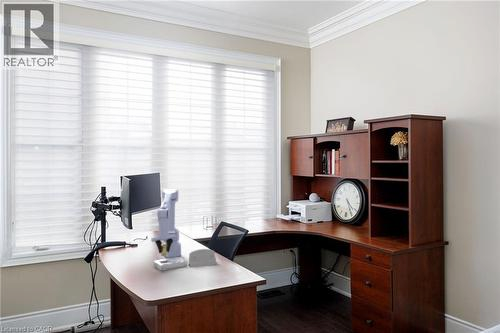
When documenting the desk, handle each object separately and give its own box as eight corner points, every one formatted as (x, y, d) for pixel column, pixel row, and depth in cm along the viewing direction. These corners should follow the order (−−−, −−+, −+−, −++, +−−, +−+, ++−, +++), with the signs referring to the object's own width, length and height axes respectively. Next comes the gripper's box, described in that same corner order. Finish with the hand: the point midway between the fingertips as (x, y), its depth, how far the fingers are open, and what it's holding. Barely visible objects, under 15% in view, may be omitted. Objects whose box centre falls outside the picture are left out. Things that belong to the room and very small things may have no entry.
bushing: (166, 253, 219) (166, 243, 218) (168, 255, 215) (169, 245, 215) (158, 254, 216) (159, 244, 216) (161, 256, 212) (161, 246, 212)
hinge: (189, 267, 215) (188, 249, 218) (188, 267, 219) (187, 250, 222) (217, 264, 220) (216, 247, 223) (215, 264, 224) (214, 248, 227)
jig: (178, 261, 227) (178, 256, 227) (186, 266, 217) (186, 261, 217) (153, 265, 218) (153, 260, 218) (160, 270, 208) (160, 265, 208)
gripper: (154, 231, 208) (154, 255, 208) (178, 229, 216) (178, 251, 216) (150, 229, 214) (150, 253, 214) (173, 227, 222) (173, 249, 222)
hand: (164, 252), depth 215 cm, fingers closed on bushing, 4 cm apart
